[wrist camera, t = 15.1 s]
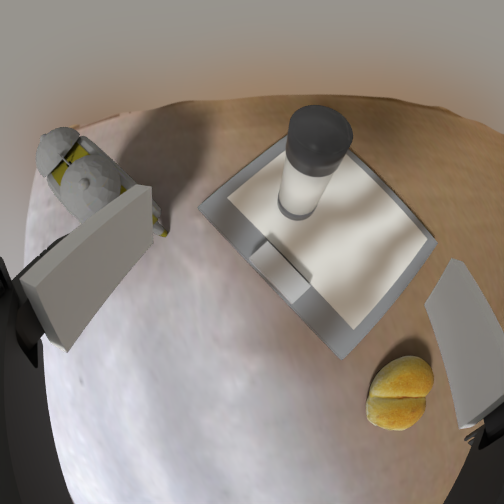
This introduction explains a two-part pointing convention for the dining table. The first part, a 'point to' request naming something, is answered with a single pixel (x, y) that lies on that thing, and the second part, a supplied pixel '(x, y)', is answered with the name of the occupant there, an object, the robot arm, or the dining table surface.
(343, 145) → the white grey cylinder
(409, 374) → the bread roll
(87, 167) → the alarm clock
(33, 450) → the robot arm
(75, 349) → the dining table surface
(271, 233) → the clipboard
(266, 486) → the dining table surface
